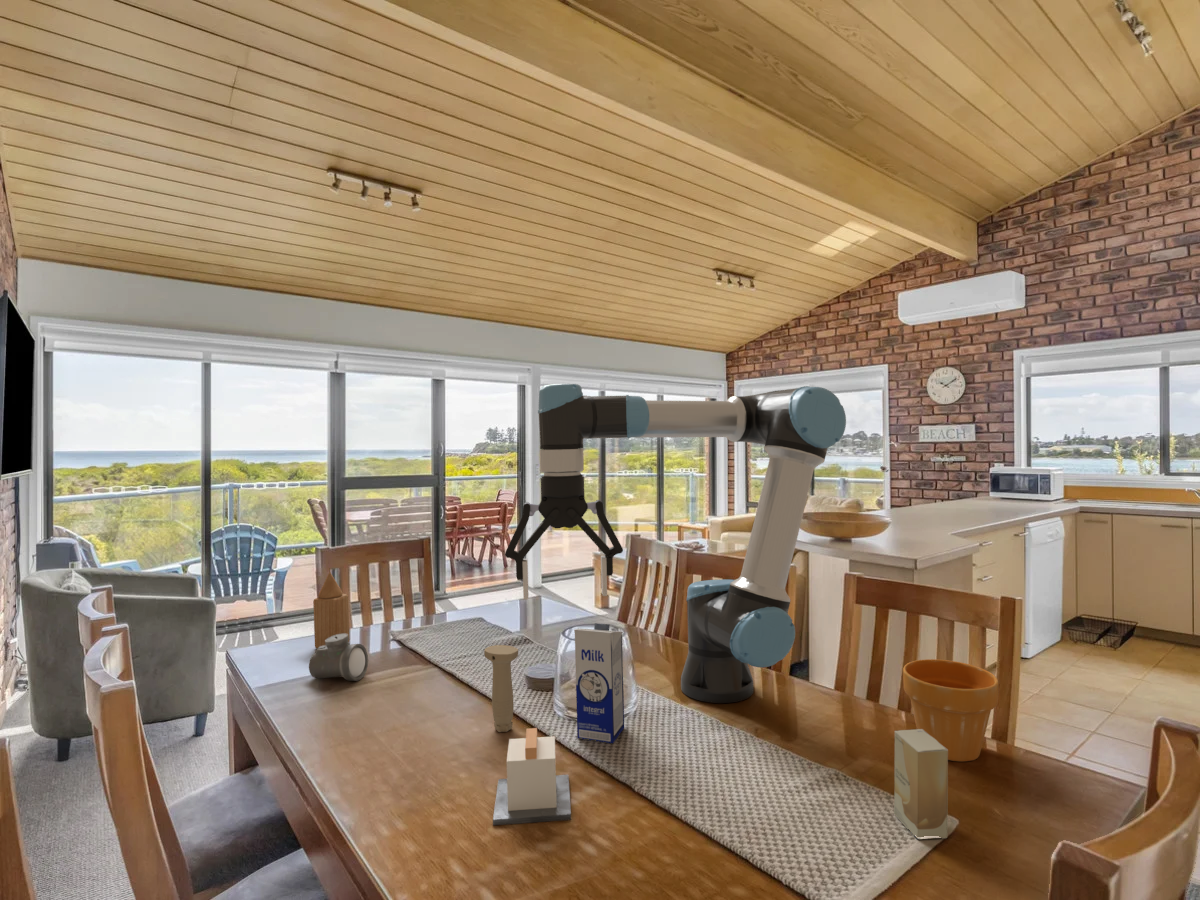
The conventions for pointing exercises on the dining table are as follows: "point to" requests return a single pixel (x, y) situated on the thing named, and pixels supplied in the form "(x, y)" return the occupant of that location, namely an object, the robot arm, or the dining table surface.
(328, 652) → the pipe fitting
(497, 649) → the handle
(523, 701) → the dining table surface
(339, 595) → the decorative item
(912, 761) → the skincare box
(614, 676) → the milk carton
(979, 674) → the flower pot
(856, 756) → the dining table surface
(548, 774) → the white block with peg
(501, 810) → the post base
